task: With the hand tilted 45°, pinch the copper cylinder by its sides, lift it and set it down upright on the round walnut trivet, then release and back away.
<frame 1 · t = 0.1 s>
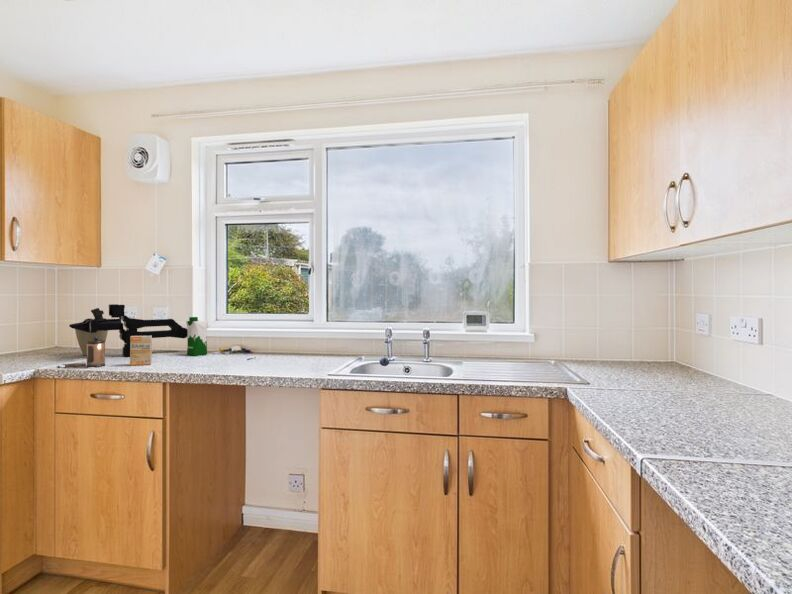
hand: (70, 326, 209), 17 cm above the worktop, tool horizontal, fingers open, 9 cm apart
milk carton: (197, 355, 228), on the worktop
plant pot: (92, 355, 230), on the worktop
trivet: (72, 366, 192), on the worktop
copper cylinder: (96, 366, 192), on the worktop
supplement box: (141, 365, 196), on the worktop
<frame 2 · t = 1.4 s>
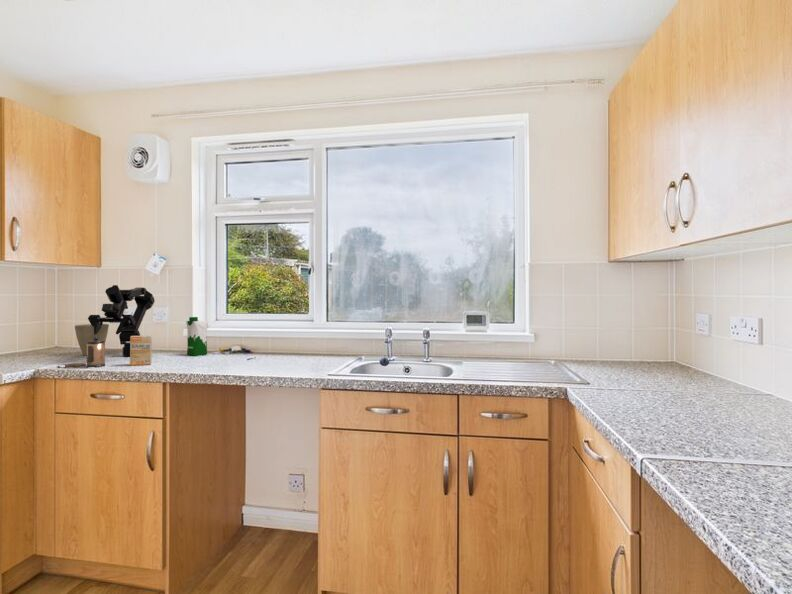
hand: (105, 334, 200), 14 cm above the worktop, tool tilted 45°, fingers open, 9 cm apart
nothing on the worktop moved.
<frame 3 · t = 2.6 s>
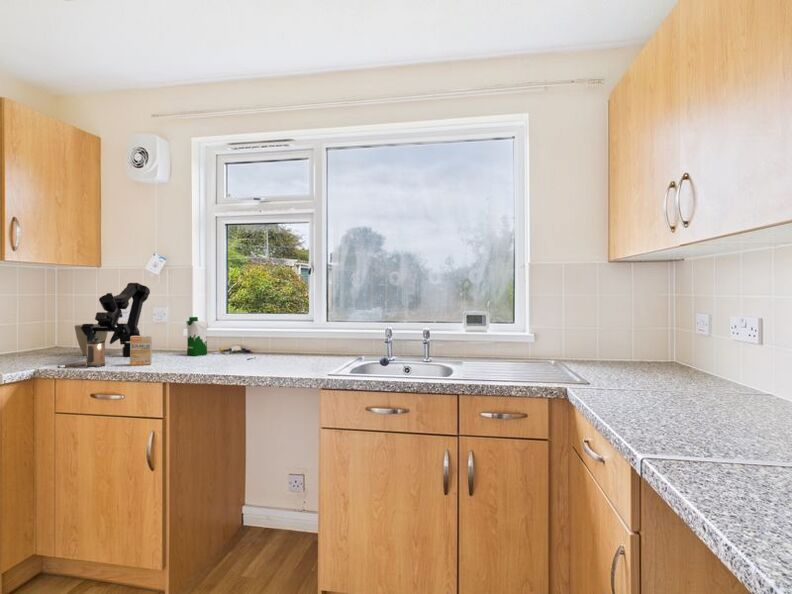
hand: (99, 343, 194), 10 cm above the worktop, tool tilted 45°, fingers open, 9 cm apart
nothing on the worktop moved.
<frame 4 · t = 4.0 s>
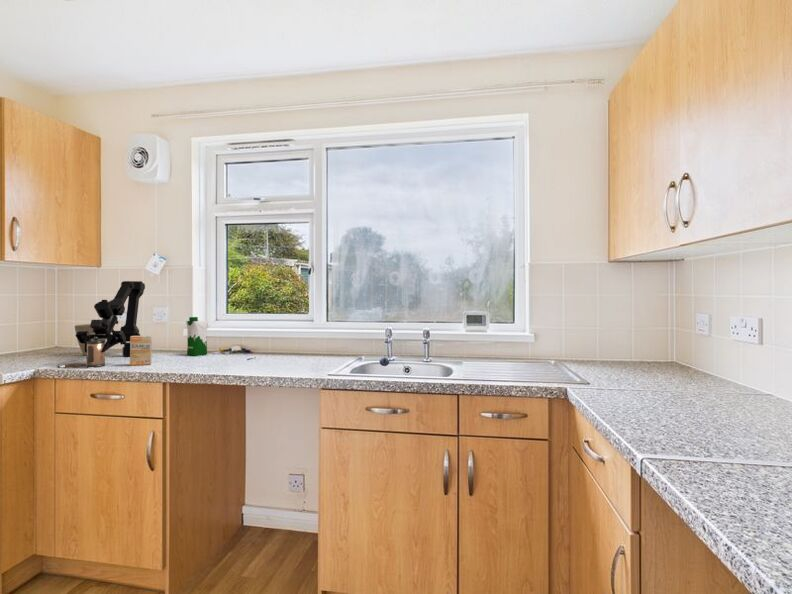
hand: (94, 351, 190), 7 cm above the worktop, tool tilted 45°, fingers closed on copper cylinder, 7 cm apart
copper cylinder: (96, 366, 192), on the worktop, touching gripper
everything else where it was.
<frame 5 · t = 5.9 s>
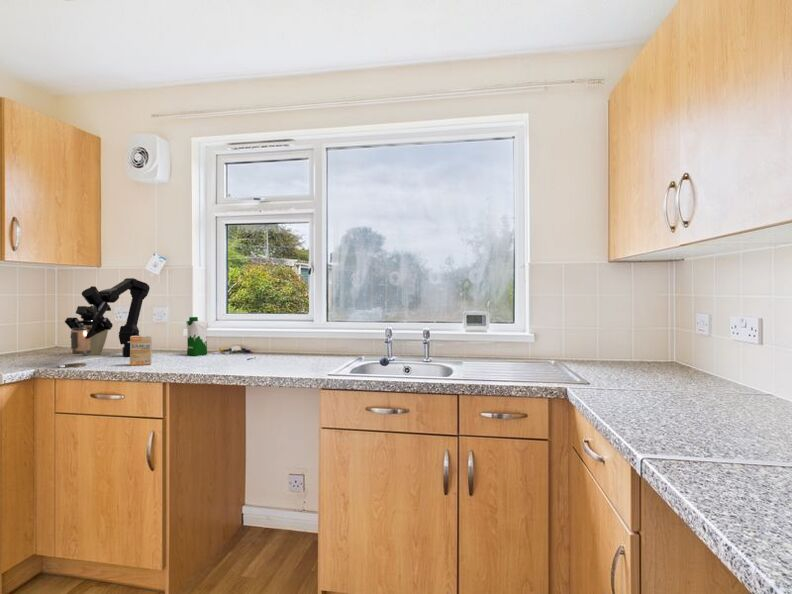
hand: (79, 338, 190), 13 cm above the worktop, tool tilted 45°, fingers closed on copper cylinder, 7 cm apart
copper cylinder: (81, 352, 192), point 6 cm above the worktop, touching gripper
everything else where it was.
when the fingers open (8 cm above the worktop, at t = 7.8 s): copper cylinder stays where it is, resting on trivet.
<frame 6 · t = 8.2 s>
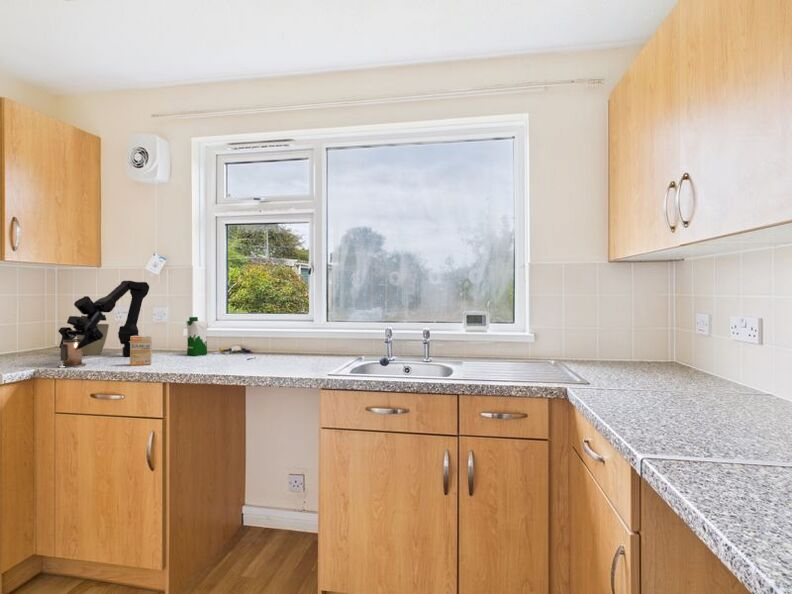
hand: (69, 348, 191), 8 cm above the worktop, tool tilted 45°, fingers open, 9 cm apart
copper cylinder: (72, 364, 193), point 1 cm above the worktop, touching trivet
everything else where it was.
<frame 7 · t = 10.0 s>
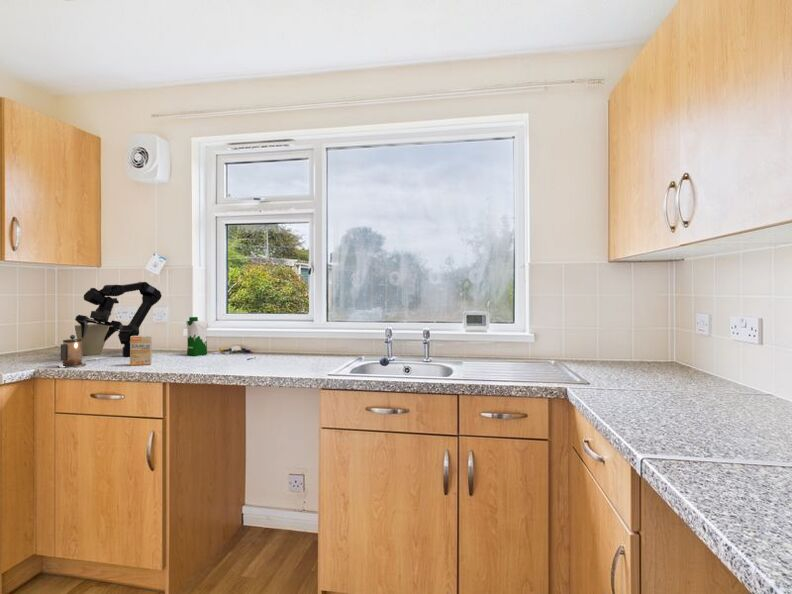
hand: (93, 339, 205), 10 cm above the worktop, tool tilted 25°, fingers open, 9 cm apart
nothing on the worktop moved.
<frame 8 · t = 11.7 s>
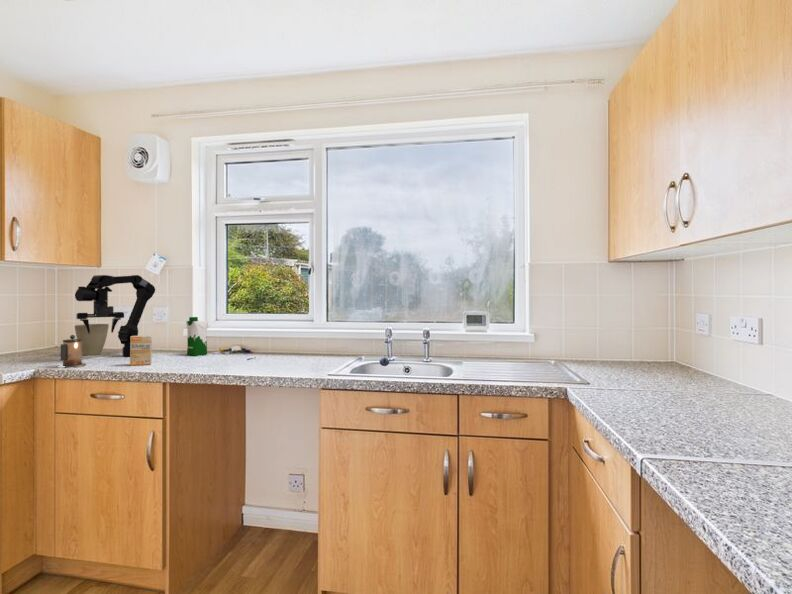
hand: (100, 333, 210), 13 cm above the worktop, tool pointing down, fingers open, 9 cm apart
nothing on the worktop moved.
at the end: copper cylinder inside the target area on the trivet (0.3 cm from its centre), point 0.6 cm above the trivet's base; copper cylinder tilted 0°; the gripper is holding nothing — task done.
